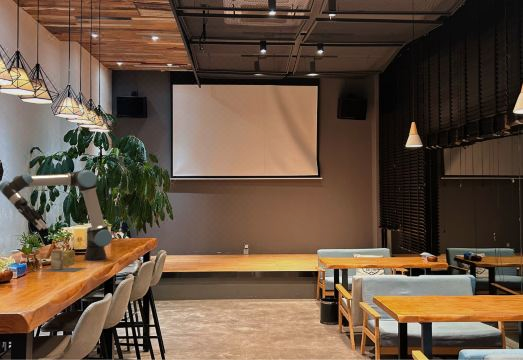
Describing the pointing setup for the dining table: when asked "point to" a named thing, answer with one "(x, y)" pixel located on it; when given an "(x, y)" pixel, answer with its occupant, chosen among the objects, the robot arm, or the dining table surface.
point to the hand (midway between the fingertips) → (43, 228)
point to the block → (56, 259)
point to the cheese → (68, 257)
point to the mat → (65, 270)
